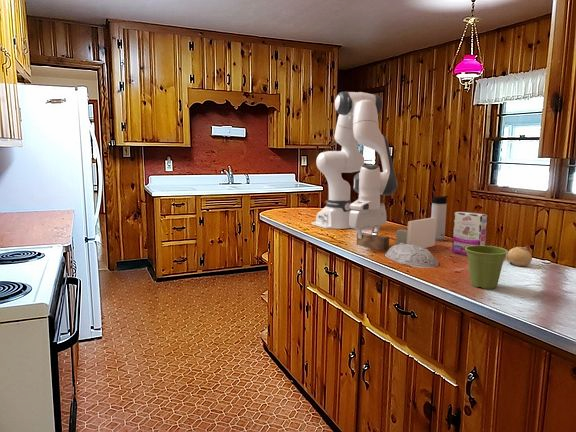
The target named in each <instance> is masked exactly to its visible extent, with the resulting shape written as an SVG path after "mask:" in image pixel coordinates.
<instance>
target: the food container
mask: <svg viewBox="0 0 576 432" xmlns="http://www.w3.org/2000/svg"><path fill="white" fill-rule="evenodd" d="M384 256H385V257H386V258H388V259H389V260H391V261H394V262H396V263H398V264H401V265H407V266H410V267H412V268H420V269H421V268H422V269H424V268H426V269H427V268H430V269H431V268H435V267H438V266H439V261H438V260H437V258H436V257H435V256H434V255H433V254H432V253H431V251H429V249H428V248H422V247H419V246H415V245H412V244H404V243H400V244H399V245H396V244H394V245H391V247H389V250H386V252H385V254H384Z"/></svg>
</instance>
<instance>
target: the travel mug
mask: <svg viewBox="0 0 576 432" xmlns="http://www.w3.org/2000/svg"><path fill="white" fill-rule="evenodd" d="M448 198H449V196H448V195H445V196H443V195H440V196H434V197H432V198H431V199H432V202H431V215H430V218H432V217H435V218H437V219H436V234H435V242H444V241H445V237H446V236H445V235H446V234H445V233H446V220H447V207H448V206H447V205H448V203H447V202H448Z"/></svg>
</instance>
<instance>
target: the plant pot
mask: <svg viewBox="0 0 576 432" xmlns="http://www.w3.org/2000/svg"><path fill="white" fill-rule="evenodd" d="M465 250H467V256H466V257H467V259H468V268H469V277H470V284H471V286H473V287H475V288H479V287H480V288H482V289H484V290H488V289H489V290H491V289H492V290H493V289H496V288H497V287H498V286H499V285H498V283H499V282H500V280H499V279H500V277H501V271H502V269H503V265H504V261H505V260H506V256H507V253H508V251H509V250H508V249H506V248H503V247H499V246H493V245H485V246H484V245H473V246H467V247H465Z"/></svg>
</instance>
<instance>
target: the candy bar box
mask: <svg viewBox="0 0 576 432" xmlns="http://www.w3.org/2000/svg"><path fill="white" fill-rule="evenodd" d="M453 215H454V217H453V232H452V233H453V235H452V247H451V253H452V254H456V255H462V256H466V257H467V250H465V247H467V246H473V245H484V246H486V241H487V240H486V238H487V237H486V236H487V224H488V214H485V213H479V212H478V213H477V212H467V211H456V212H454V214H453Z"/></svg>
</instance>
